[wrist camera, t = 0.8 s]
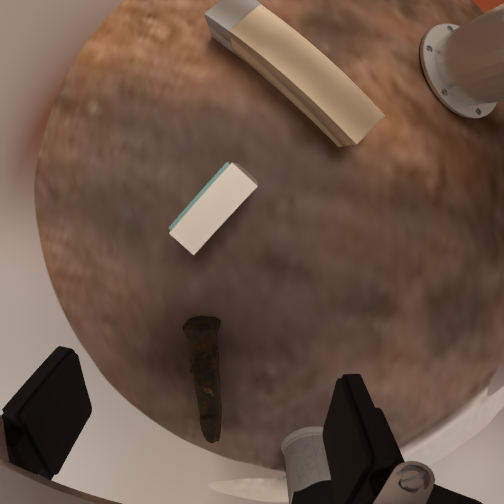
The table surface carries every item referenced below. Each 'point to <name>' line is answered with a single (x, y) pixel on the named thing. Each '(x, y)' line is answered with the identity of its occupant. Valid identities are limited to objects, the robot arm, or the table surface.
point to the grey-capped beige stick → (294, 69)
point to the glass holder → (307, 467)
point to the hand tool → (206, 372)
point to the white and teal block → (212, 206)
